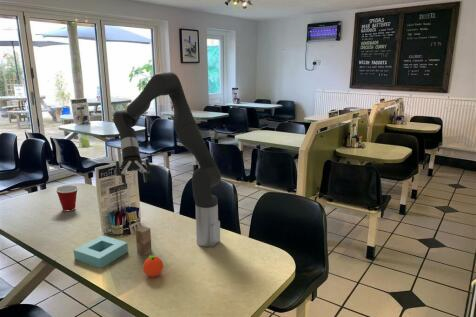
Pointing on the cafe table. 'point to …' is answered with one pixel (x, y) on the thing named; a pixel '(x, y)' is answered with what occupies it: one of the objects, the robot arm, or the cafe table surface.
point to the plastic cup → (67, 196)
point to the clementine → (153, 266)
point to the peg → (143, 240)
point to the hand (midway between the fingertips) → (135, 182)
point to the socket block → (99, 259)
